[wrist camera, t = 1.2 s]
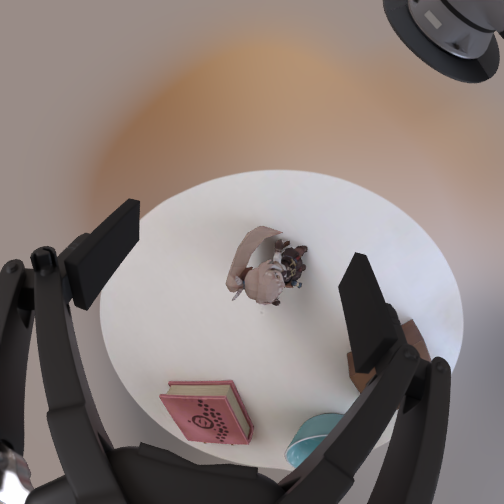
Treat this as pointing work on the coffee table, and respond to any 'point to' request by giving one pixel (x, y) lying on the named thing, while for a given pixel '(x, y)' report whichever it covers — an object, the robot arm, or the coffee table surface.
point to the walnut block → (361, 378)
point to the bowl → (310, 437)
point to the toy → (265, 268)
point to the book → (208, 411)
